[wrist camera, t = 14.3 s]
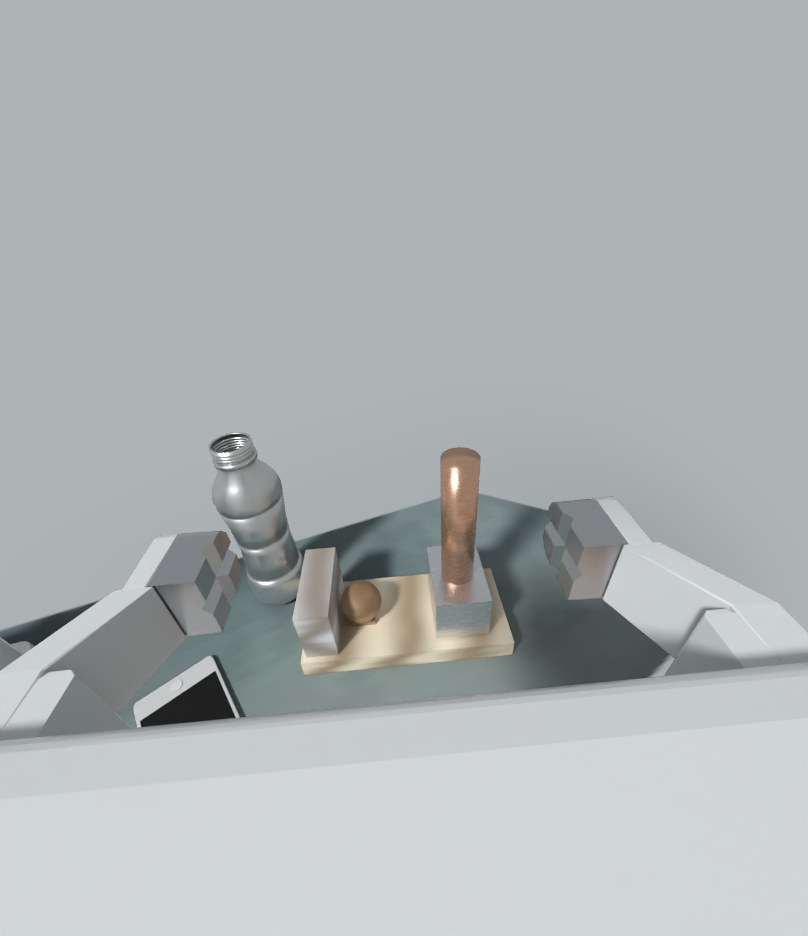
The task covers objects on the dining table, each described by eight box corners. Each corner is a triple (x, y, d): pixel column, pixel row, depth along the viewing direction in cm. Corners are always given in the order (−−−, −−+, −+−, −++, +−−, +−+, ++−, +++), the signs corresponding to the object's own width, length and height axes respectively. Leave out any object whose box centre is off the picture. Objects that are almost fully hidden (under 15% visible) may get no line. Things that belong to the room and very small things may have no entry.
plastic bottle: (260, 622, 42) (191, 472, 30) (251, 578, 47) (189, 435, 36) (317, 598, 44) (273, 449, 33) (303, 558, 49) (261, 418, 38)
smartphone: (214, 658, 39) (211, 653, 39) (280, 806, 29) (277, 802, 29) (136, 709, 36) (131, 704, 35) (181, 897, 26) (175, 895, 25)
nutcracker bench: (304, 674, 37) (285, 625, 32) (316, 595, 44) (301, 546, 40) (512, 654, 37) (521, 603, 33) (489, 579, 45) (494, 529, 40)
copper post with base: (436, 638, 37) (433, 489, 26) (427, 579, 42) (422, 437, 32) (488, 633, 37) (506, 482, 27) (472, 575, 43) (482, 432, 32)
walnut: (343, 634, 38) (336, 608, 36) (345, 600, 41) (339, 574, 39) (383, 630, 38) (379, 604, 36) (383, 596, 41) (379, 570, 39)
